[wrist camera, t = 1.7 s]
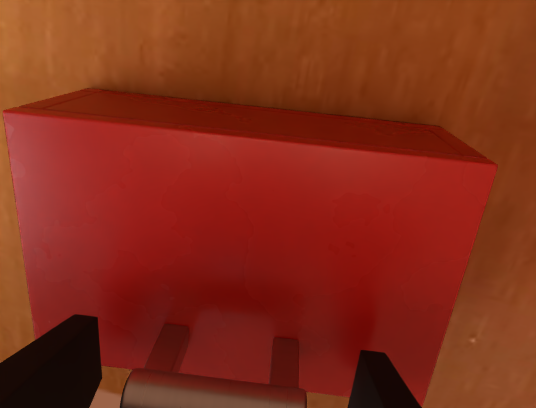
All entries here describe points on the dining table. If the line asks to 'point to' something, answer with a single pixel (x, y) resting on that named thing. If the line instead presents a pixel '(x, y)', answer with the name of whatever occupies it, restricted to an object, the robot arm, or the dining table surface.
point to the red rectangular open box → (258, 120)
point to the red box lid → (241, 254)
